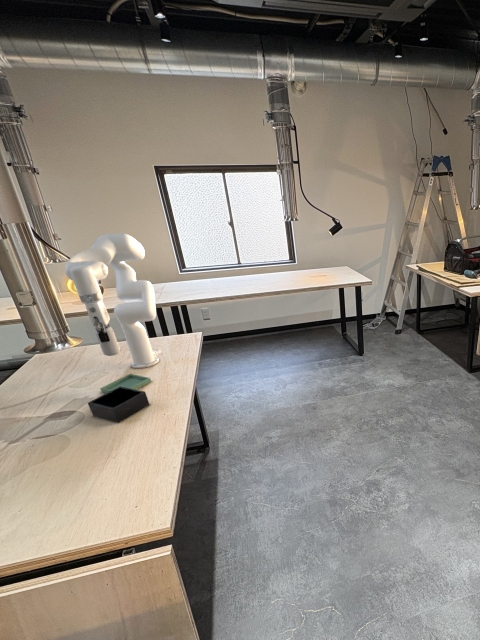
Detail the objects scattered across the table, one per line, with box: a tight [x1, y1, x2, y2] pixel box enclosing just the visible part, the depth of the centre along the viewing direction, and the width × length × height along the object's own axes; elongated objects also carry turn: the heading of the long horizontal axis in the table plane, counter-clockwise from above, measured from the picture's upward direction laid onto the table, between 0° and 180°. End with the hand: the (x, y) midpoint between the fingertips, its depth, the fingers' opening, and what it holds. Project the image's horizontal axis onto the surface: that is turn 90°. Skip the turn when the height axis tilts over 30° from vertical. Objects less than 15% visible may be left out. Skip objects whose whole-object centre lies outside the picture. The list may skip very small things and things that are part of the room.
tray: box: [99, 373, 152, 394], centre depth 188 cm, size 15×13×2 cm
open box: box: [87, 386, 151, 424], centre depth 168 cm, size 15×15×6 cm
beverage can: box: [94, 324, 121, 357], centre depth 174 cm, size 6×6×12 cm
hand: (106, 338), depth 173 cm, fingers closed on beverage can, 6 cm apart
